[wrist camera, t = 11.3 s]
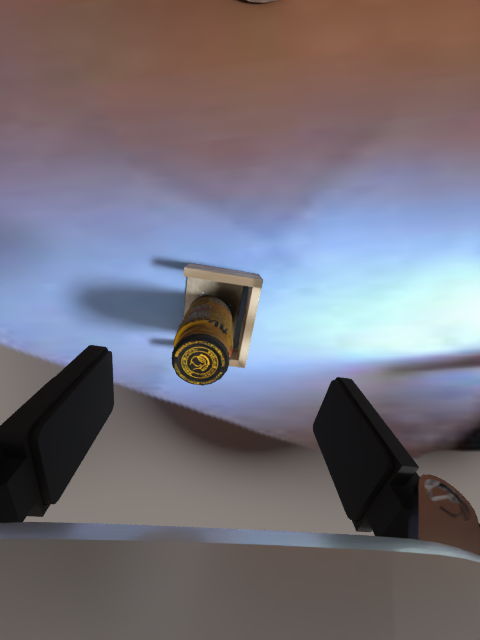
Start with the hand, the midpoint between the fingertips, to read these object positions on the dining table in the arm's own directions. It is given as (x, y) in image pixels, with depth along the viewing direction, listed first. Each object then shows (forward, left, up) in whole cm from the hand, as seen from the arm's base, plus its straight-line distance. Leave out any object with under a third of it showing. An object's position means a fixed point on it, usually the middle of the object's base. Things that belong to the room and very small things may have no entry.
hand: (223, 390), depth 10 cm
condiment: (+4, -1, -22) cm, 23 cm away
